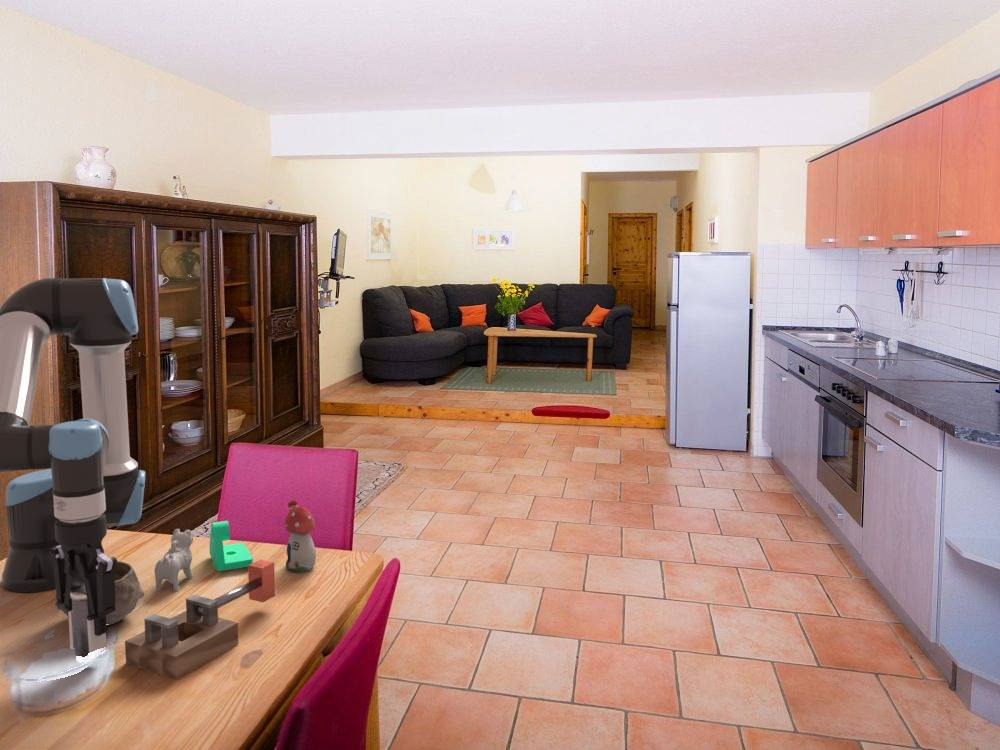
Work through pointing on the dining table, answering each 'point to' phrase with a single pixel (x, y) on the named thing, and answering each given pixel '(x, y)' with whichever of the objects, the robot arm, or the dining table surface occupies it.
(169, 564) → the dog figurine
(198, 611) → the pin
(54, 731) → the dining table surface
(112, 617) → the bowl
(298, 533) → the decorative ornament
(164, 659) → the dock block
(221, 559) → the camera mount
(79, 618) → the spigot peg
